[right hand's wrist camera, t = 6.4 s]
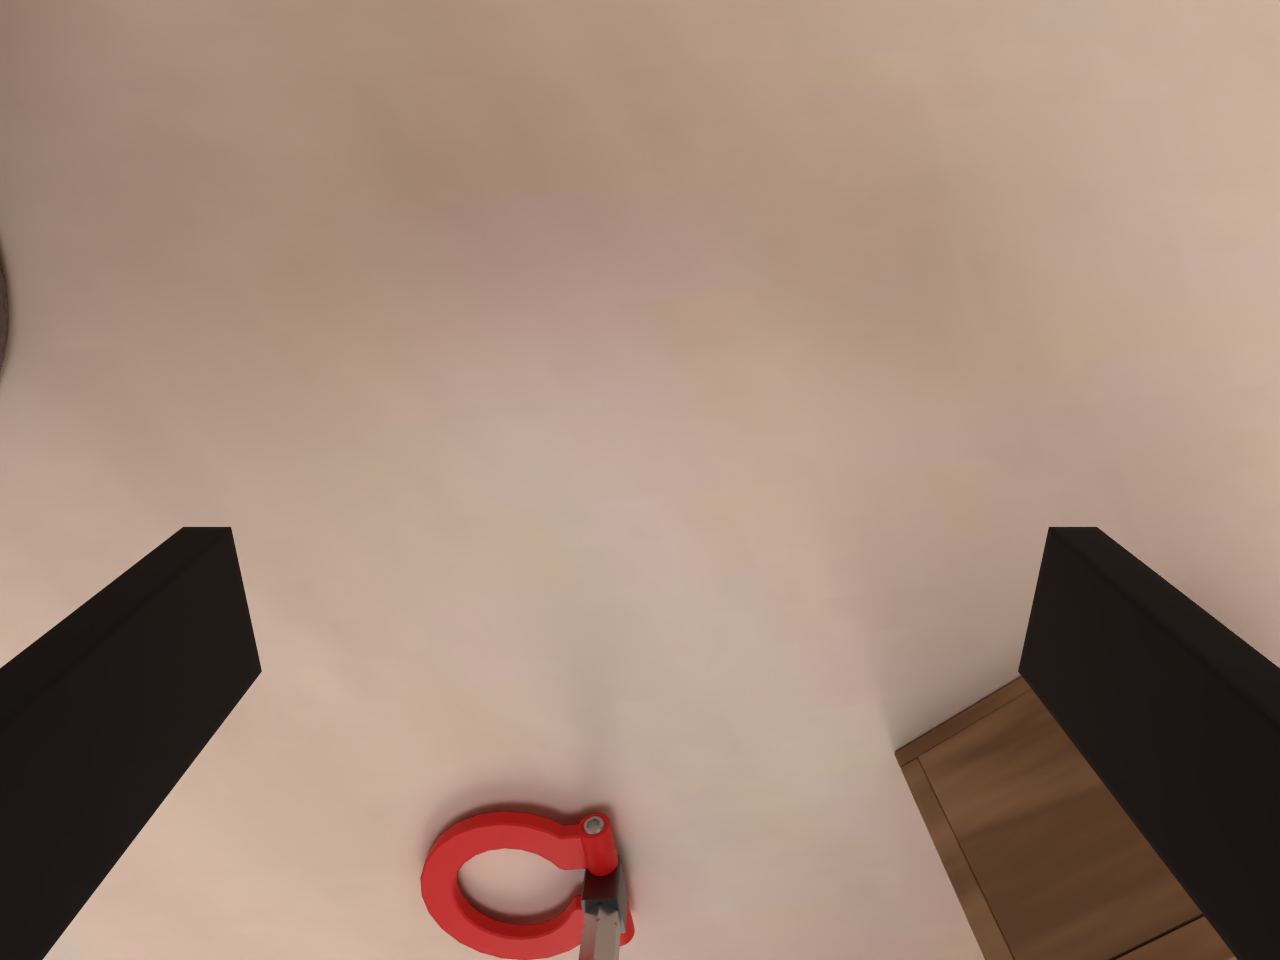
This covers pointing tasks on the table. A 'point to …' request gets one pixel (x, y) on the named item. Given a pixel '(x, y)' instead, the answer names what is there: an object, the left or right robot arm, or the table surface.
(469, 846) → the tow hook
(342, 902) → the table surface
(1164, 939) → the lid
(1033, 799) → the chest
